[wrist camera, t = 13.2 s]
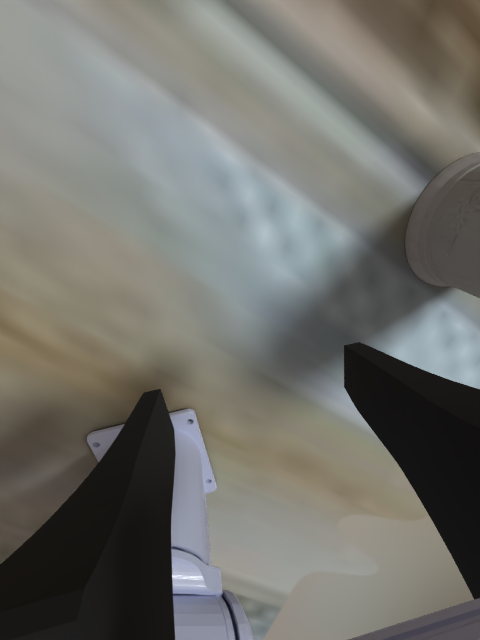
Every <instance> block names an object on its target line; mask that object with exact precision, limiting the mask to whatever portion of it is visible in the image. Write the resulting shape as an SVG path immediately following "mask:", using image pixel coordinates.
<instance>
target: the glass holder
mask: <svg viewBox="0 0 480 640" xmlns="http://www.w3.org/2000/svg"><path fill="white" fill-rule="evenodd" d="M405 249H406V256H407V259H408V263H409V265H410V267H411V269H412V271H413V272H414V273H415V274H416V275H417V276H418V277H419V278H420V279H421V280H423V281H424V282H426V283H429V284H431V285H435V286H441V287H450V286H453V287H455V288H457V289H460V290H462V291H464V292H467V293H469V294H471V295H474V296H476V297H478V298H480V152H478V153H473V154H470V155H467V156H465V157H462V158H460V159H458V160H457V161H455V162H453V163H451V164H450V165H448V166H447V167H446V168H445V169H443V170H442V171H441V172H440V173H438V175H437V176H436V177H435V178H434V179H433V180H432V181H431V182H430V183H429V184H428V185H427V187H426V188H425V190H424V191H423V192H422V194H421V195H420V197H419V199H418V200H417V202H416V204H415V206H414V208H413V210H412V213H411V215H410V218H409V221H408V225H407V229H406V238H405Z"/></svg>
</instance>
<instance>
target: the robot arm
mask: <svg viewBox="0 0 480 640" xmlns="http://www.w3.org/2000/svg"><path fill="white" fill-rule="evenodd" d="M344 387H345V389H346V391H347V393H348V394H349V396H350V398H351V400H352V402H353V403H354V405H355V407H356V408H357V410H358V411H359V413H360V414H361V415H362V417H363V418H364V419H365V421H366V422H367V423H368V425H369V426H370V427H371V429H372V430H373V431H374V433H375V434H376V435H377V436H378V438H379V439H380V440H381V442H382V443H383V444H384V446H385V447H386V448H387V450H388V451H389V452H390V454H391V455H392V456H393V458H394V459H395V460H396V462H397V463H398V465H399V466H400V468H401V469H402V471H403V472H404V474H405V476H406V477H407V479H408V481H409V482H410V484H411V485H412V487H413V489H414V490H415V492H416V494H417V495H418V497H419V499H420V500H421V502H422V504H423V505H424V507H425V509H426V511H427V512H428V514H429V516H430V517H431V519H432V521H433V523H434V524H435V526H436V528H437V530H438V532H439V533H440V535H441V537H442V539H443V541H444V542H445V544H446V546H447V548H448V550H449V551H450V553H451V555H452V557H453V559H454V561H455V563H456V565H457V566H458V568H459V571H460V572H461V574H462V576H463V578H464V580H465V582H466V584H467V586H468V588H469V590H470V591H471V593H472V596H473V598H474V600H471V601H468V602H465V603H462V604H459V605H456V606H453V607H449V608H446V609H443V610H440V611H437V612H434V613H431V614H427V615H424V616H421V617H418V618H415V619H412V620H408V621H406V622H402V623H399V624H396V625H393V626H389V627H386V628H383V629H380V630H377V631H374V632H371V633H368V634H364V635H361V636H358V637H355V638H352V639H348V640H480V389H476V388H473V387H470V386H467V385H464V384H460V383H457V382H454V381H451V380H448V379H445V378H443V377H440V376H437V375H435V374H432V373H429V372H427V371H424V370H422V369H419V368H417V367H414V366H412V365H410V364H407V363H405V362H403V361H401V360H398V359H396V358H394V357H392V356H389V355H387V354H385V353H383V352H381V351H378V350H376V349H374V348H372V347H370V346H367V345H365V344H362V343H360V342H358V343H353V344H349V345H345V346H344ZM189 419H192V420H191V421H188V420H189ZM87 442H88V444H89V446H90V448H91V450H92V452H93V453H94V455H95V457H96V459H97V461H98V464H97V465H96V467H95V468H94V469H93V471H92V472H91V473H90V474H89V476H88V477H87V478H86V479H85V480H84V481H83V483H82V484H81V485H80V486H79V487H78V489H77V490H76V491H75V492H74V493H73V494H72V495H71V496H70V497H69V498H68V500H67V501H66V502H65V503H64V504H63V505H62V506H61V507H60V508H59V509H58V510H57V511H56V512H55V513H54V514H53V516H52V517H51V518H50V519H49V520H48V521H47V522H46V523H45V524H44V525H43V526H42V527H41V528H40V529H39V530H37V531H36V532H35V533H34V534H33V535H32V536H31V537H30V538H29V539H28V540H27V541H26V542H25V543H24V544H23V545H22V546H21V547H19V548H18V549H17V550H16V551H15V552H14V553H13V554H12V555H11V556H10V557H8V558H7V559H6V560H5V561H4V562H3V563H2V564H0V640H253V636H252V632H251V628H250V625H249V622H248V620H247V617H246V615H245V613H244V611H243V608H242V606H241V604H240V602H239V600H238V599H237V597H236V596H235V595H234V594H233V593H232V592H230V591H228V590H222V583H221V573H220V568H219V567H212V566H211V555H210V542H209V529H208V516H207V503H206V494H207V493H211V492H214V491H215V490H216V489H217V486H216V481H215V478H214V475H213V471H212V468H211V465H210V461H209V458H208V454H207V451H206V448H205V444H204V441H203V438H202V434H201V431H200V428H199V424H198V421H197V418H196V414H195V412H194V410H192V409H184V410H180V411H176V412H172V413H169V412H168V410H167V407H166V404H165V401H164V398H163V395H162V392H161V390H160V389H158V390H153V391H149V392H145V393H143V395H142V396H141V398H140V400H139V401H138V403H137V405H136V406H135V408H134V410H133V411H132V413H131V415H130V416H129V418H128V420H127V421H126V423H125V424H122V425H118V426H114V427H110V428H106V429H102V430H98V431H93V432H91V433H89V434H88V437H87ZM95 442H97V443H95Z"/></svg>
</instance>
